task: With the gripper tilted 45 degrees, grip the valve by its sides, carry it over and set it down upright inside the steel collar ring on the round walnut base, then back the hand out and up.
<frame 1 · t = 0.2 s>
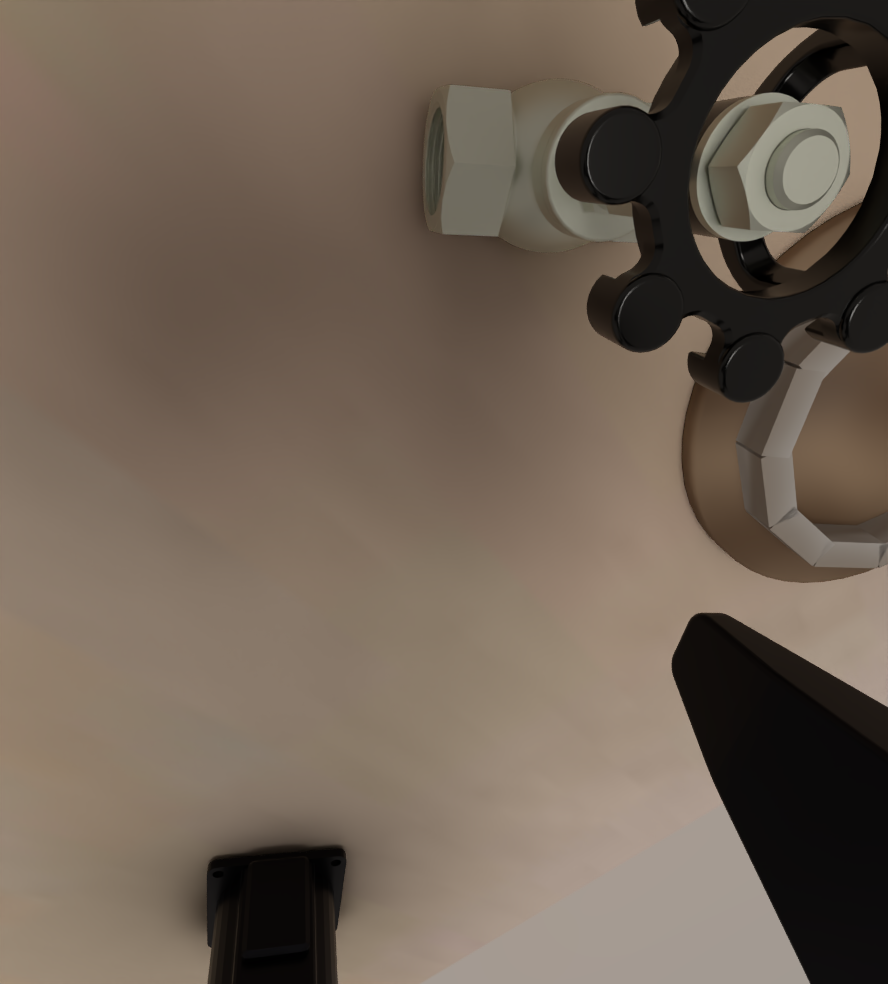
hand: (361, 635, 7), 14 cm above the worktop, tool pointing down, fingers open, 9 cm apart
valve: (525, 170, 19), on the worktop
collar base: (864, 405, 25), on the worktop
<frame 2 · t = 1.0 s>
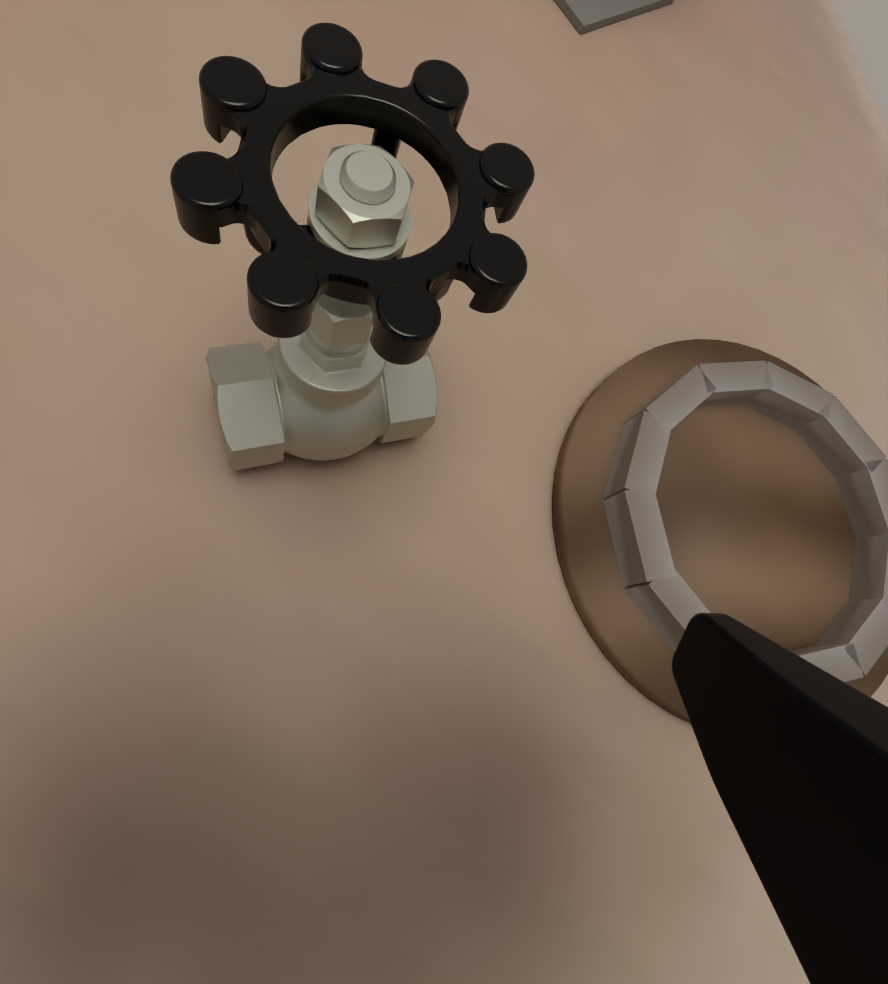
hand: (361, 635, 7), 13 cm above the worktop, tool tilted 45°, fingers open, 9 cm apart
valve: (318, 421, 22), on the worktop
collar base: (732, 528, 25), on the worktop
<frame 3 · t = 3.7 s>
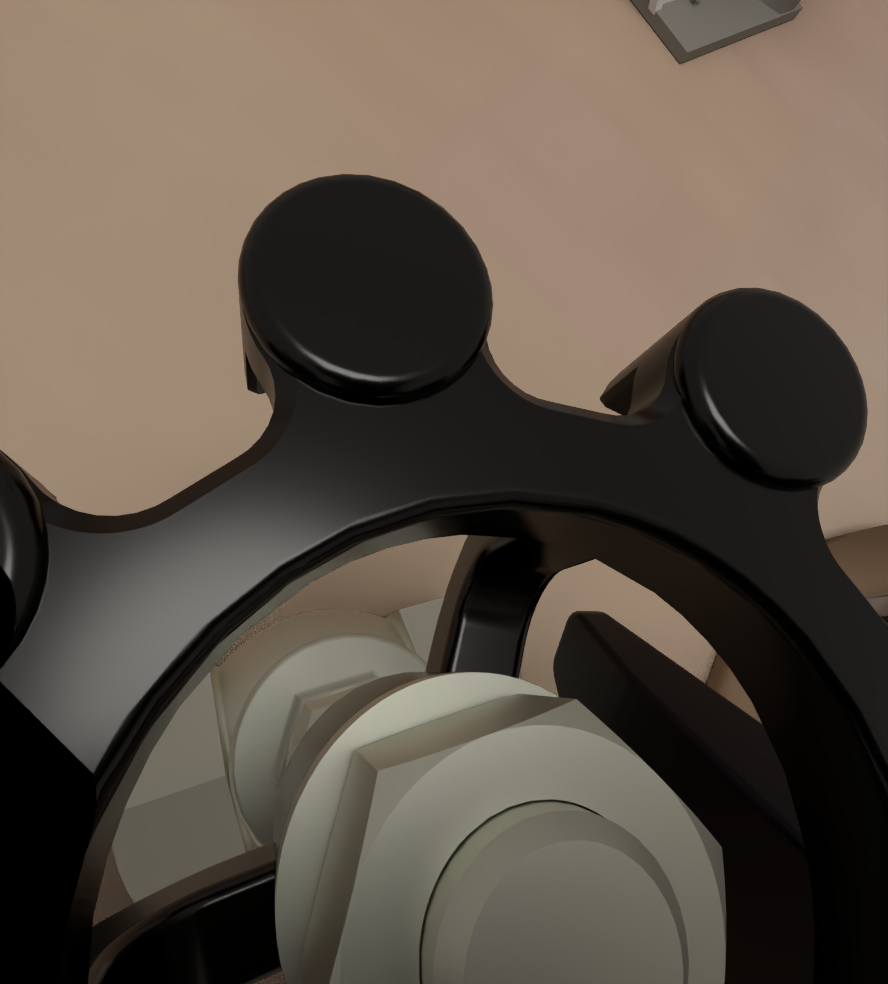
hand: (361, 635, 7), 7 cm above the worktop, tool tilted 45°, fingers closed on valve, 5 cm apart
valve: (317, 718, 13), on the worktop, touching gripper
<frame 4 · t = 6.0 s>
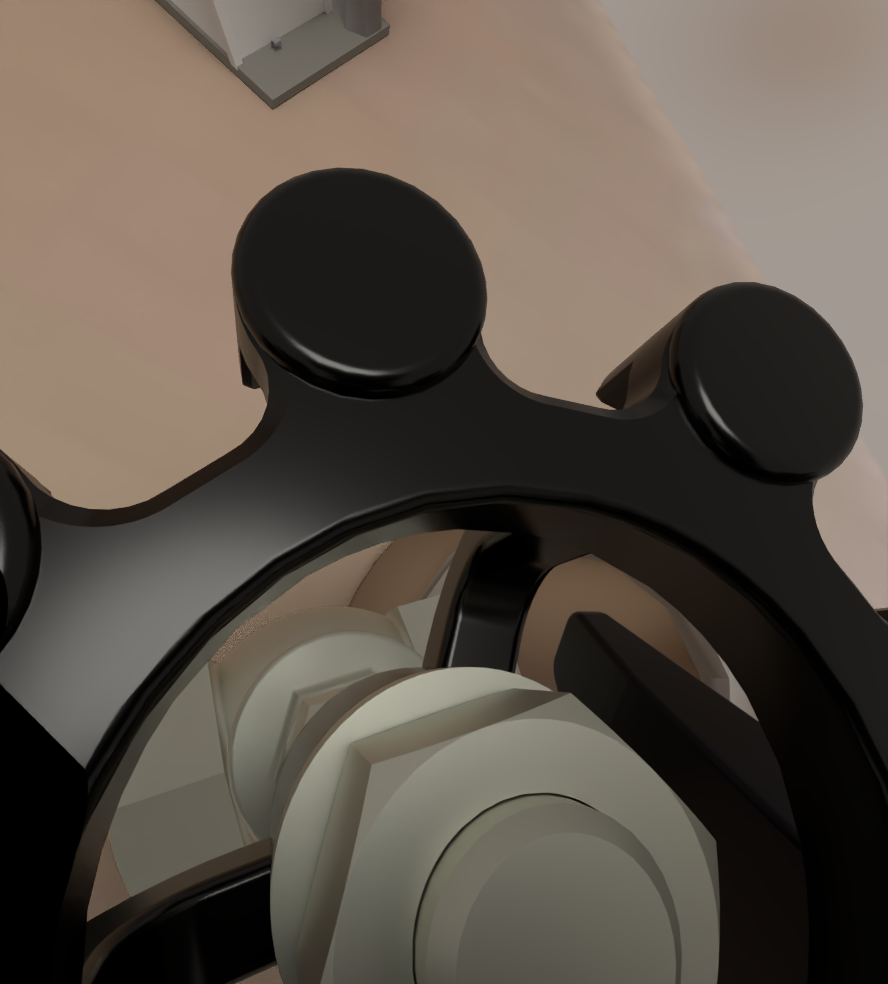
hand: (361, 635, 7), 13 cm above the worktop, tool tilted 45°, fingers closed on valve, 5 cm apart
valve: (316, 715, 13), point 6 cm above the worktop, touching gripper
collar base: (557, 703, 22), on the worktop
skyscraper: (248, 14, 26), on the worktop
when the fingers open (9 cm above the worktop, at t = 8.3 s): valve stays where it is, resting on collar base.
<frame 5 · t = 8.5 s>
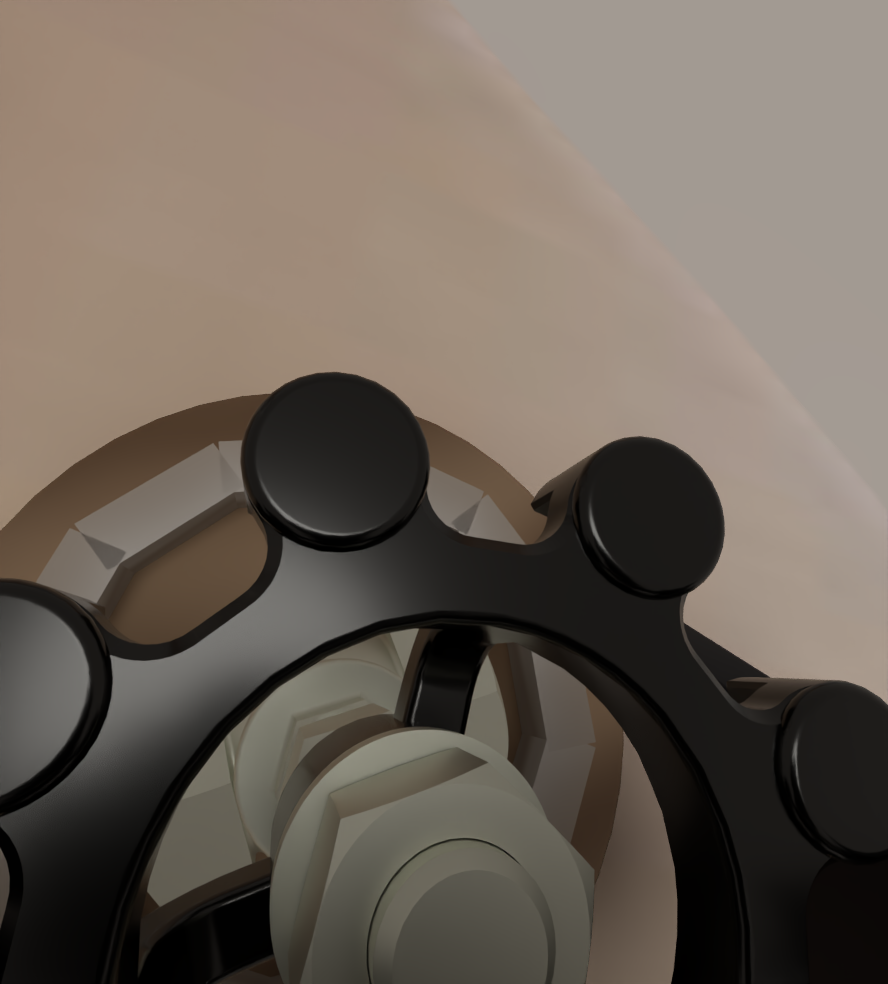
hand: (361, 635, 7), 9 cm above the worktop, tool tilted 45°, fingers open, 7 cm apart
valve: (314, 724, 15), point 1 cm above the worktop, touching collar base
collar base: (310, 710, 15), on the worktop
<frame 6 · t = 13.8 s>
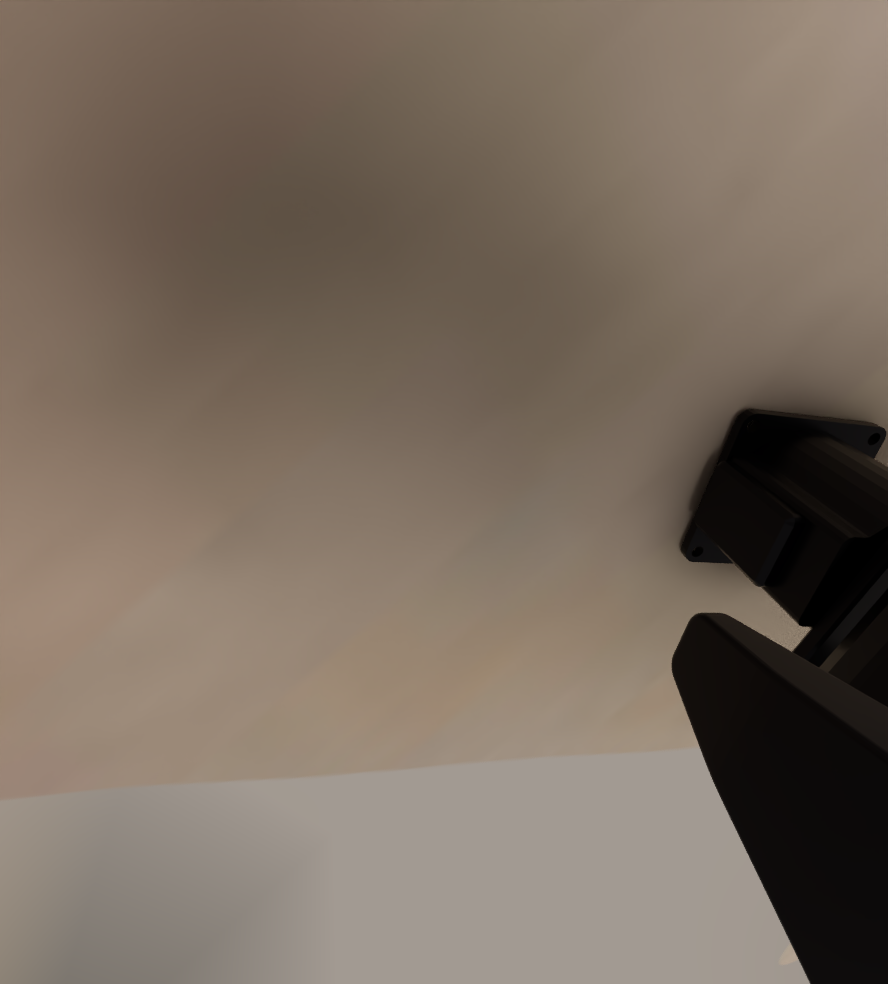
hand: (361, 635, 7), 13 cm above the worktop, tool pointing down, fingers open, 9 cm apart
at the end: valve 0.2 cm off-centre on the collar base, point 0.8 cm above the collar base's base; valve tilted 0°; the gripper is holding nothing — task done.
